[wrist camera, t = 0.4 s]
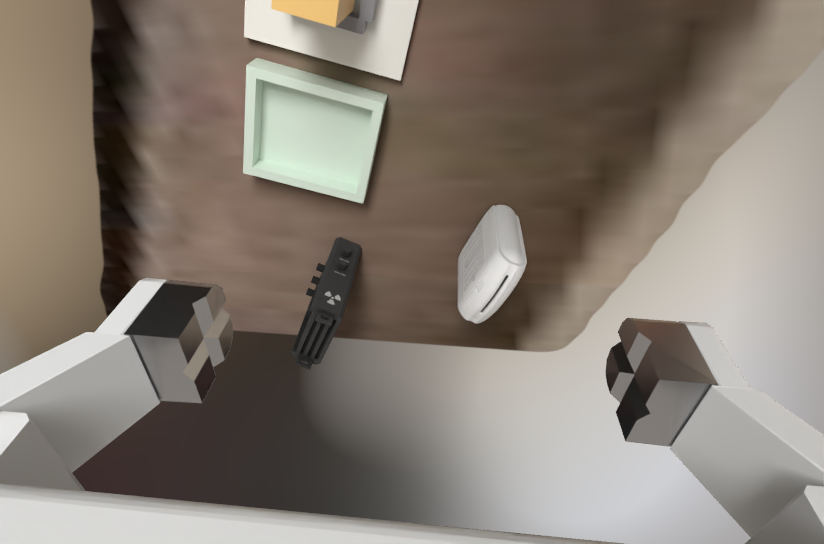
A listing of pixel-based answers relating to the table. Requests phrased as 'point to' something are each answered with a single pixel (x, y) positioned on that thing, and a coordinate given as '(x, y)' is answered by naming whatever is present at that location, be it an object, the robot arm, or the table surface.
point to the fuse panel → (341, 34)
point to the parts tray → (310, 130)
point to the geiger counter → (326, 303)
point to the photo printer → (490, 264)
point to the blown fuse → (316, 9)
